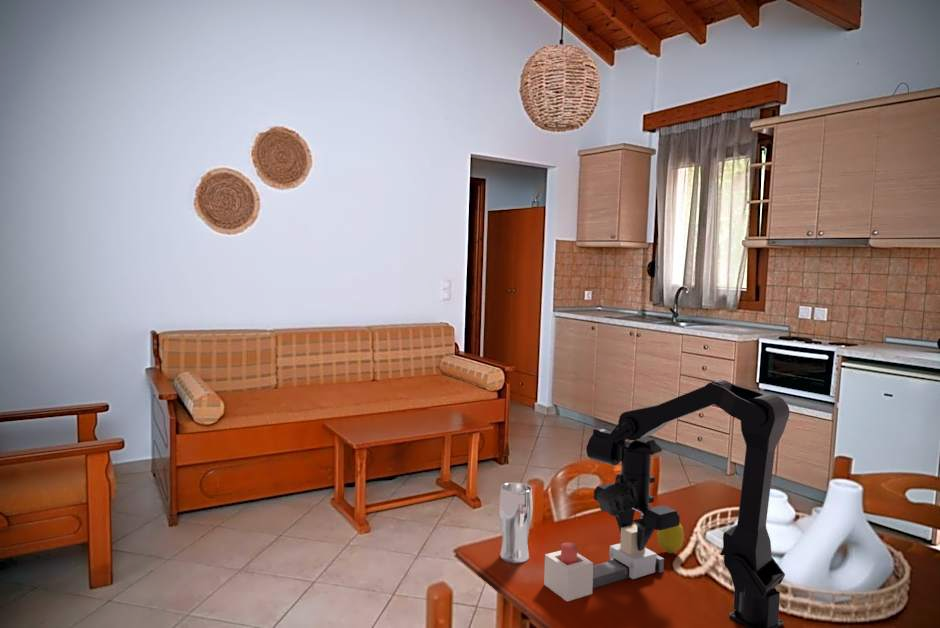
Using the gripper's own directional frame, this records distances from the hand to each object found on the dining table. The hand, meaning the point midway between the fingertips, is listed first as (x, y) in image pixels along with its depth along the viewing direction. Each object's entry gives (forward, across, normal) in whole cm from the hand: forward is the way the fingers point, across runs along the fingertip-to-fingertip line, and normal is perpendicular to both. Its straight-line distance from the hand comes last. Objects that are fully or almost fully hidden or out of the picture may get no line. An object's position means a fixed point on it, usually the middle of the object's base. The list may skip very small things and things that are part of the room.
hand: (633, 546), depth 126 cm
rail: (+5, 0, -4) cm, 6 cm away
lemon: (+5, -2, +13) cm, 14 cm away
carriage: (+5, 0, 0) cm, 5 cm away
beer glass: (+5, -16, -18) cm, 25 cm away
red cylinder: (+1, 0, -16) cm, 17 cm away
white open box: (+5, 0, -16) cm, 17 cm away
